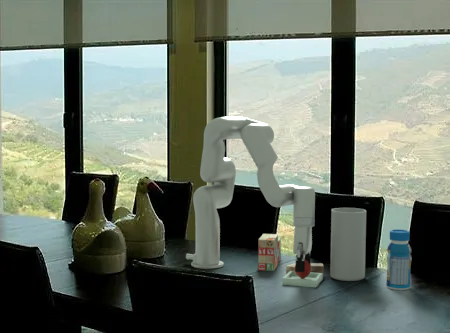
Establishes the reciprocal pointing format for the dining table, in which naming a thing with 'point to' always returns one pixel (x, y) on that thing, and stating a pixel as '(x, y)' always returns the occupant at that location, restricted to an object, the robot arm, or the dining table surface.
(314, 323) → the dining table surface
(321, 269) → the walnut block
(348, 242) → the cylinder vase
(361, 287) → the dining table surface
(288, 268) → the beech block
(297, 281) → the dish
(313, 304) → the dining table surface
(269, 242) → the stack of blocks
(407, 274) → the beverage bottle
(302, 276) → the red round fruit
